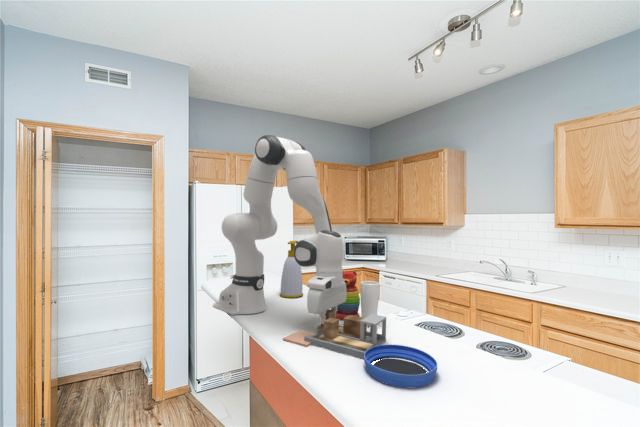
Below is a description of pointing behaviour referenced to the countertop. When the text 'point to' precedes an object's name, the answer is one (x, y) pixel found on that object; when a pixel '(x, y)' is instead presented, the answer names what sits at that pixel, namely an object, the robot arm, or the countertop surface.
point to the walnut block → (353, 325)
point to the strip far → (332, 315)
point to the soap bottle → (291, 276)
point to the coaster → (299, 338)
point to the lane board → (370, 338)
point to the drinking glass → (369, 298)
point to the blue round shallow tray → (400, 365)
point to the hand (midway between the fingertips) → (327, 321)
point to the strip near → (333, 336)
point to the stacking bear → (349, 297)
